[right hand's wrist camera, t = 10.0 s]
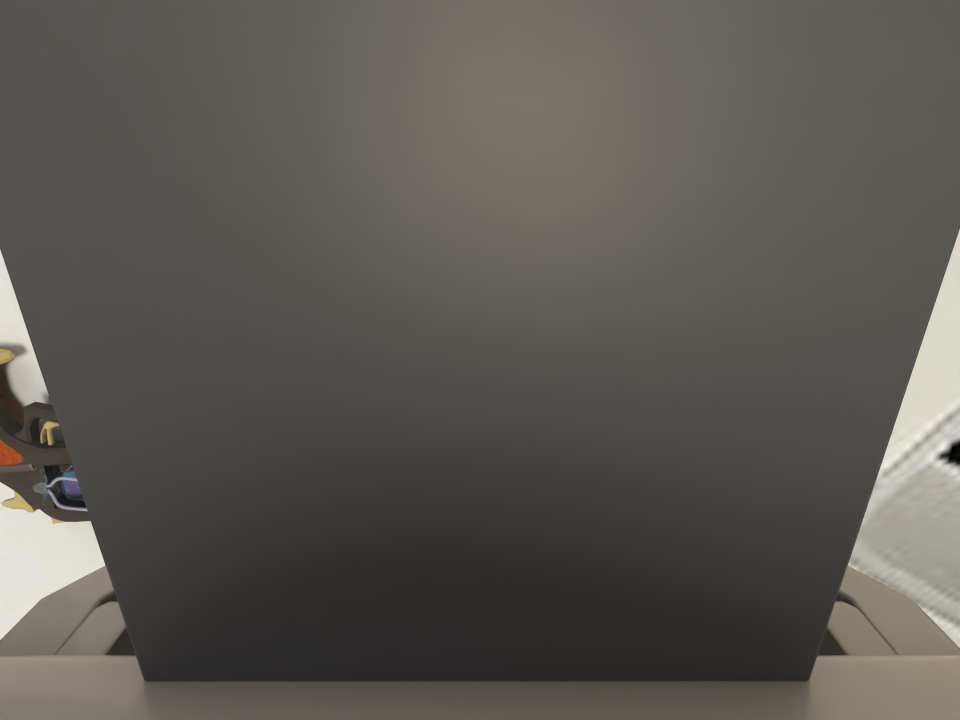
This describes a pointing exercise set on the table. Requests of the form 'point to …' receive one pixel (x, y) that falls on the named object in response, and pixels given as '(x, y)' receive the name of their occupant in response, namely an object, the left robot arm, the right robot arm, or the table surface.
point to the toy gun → (37, 463)
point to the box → (477, 319)
